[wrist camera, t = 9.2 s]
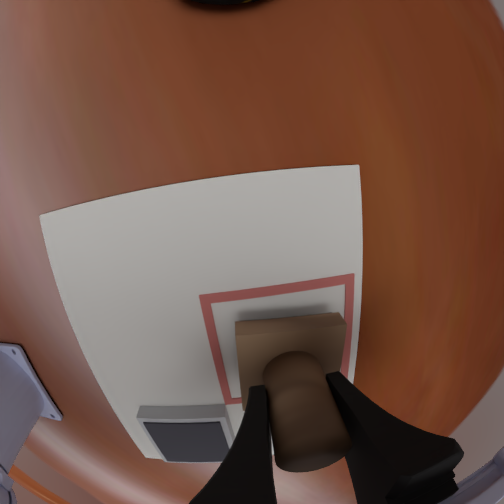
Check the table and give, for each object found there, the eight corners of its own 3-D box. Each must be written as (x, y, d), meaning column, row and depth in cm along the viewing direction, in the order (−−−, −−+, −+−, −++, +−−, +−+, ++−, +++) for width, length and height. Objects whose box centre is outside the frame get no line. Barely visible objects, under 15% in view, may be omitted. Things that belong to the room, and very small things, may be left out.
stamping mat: (146, 455, 18) (143, 469, 17) (42, 214, 12) (24, 220, 11) (341, 438, 19) (347, 452, 17) (356, 164, 13) (371, 165, 11)
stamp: (241, 390, 15) (247, 488, 8) (234, 317, 13) (237, 424, 7) (326, 381, 15) (362, 468, 9) (336, 308, 13) (396, 397, 7)
